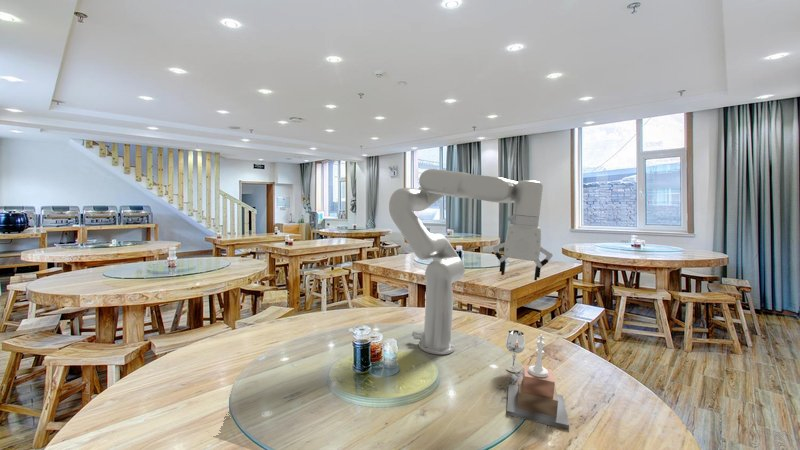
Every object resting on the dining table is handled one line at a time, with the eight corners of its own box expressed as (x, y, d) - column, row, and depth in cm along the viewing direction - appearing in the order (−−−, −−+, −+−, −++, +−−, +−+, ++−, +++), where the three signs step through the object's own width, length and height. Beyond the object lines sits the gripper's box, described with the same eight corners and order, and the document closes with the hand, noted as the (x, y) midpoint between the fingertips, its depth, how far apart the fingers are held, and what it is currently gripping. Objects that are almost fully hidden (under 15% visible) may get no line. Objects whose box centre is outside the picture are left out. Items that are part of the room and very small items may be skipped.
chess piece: (550, 378, 89) (553, 339, 88) (529, 375, 90) (532, 337, 89) (546, 369, 94) (549, 332, 93) (526, 366, 95) (529, 330, 94)
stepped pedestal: (506, 414, 88) (509, 379, 87) (508, 387, 101) (511, 356, 100) (568, 429, 83) (572, 392, 83) (562, 398, 97) (565, 366, 96)
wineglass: (523, 368, 114) (526, 331, 113) (521, 376, 108) (524, 337, 107) (505, 364, 116) (507, 328, 115) (502, 371, 111) (505, 333, 110)
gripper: (494, 219, 108) (488, 274, 109) (556, 225, 101) (549, 284, 103) (497, 218, 115) (491, 270, 116) (555, 224, 108) (548, 279, 110)
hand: (518, 277), depth 110 cm, fingers open, 9 cm apart
